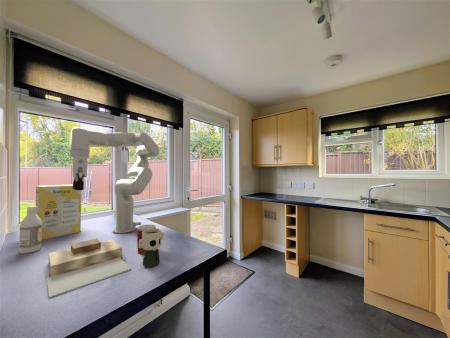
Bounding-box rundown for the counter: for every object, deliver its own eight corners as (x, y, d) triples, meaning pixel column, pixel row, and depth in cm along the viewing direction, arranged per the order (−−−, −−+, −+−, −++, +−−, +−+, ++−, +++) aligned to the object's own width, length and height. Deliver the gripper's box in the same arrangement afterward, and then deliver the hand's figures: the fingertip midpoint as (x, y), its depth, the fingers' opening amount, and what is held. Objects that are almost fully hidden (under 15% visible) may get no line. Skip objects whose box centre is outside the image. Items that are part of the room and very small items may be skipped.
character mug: (144, 273, 66) (145, 236, 66) (132, 268, 70) (133, 233, 70) (168, 261, 75) (169, 229, 76) (156, 256, 79) (157, 226, 79)
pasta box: (75, 228, 118) (76, 184, 118) (80, 231, 111) (81, 185, 112) (34, 236, 103) (36, 185, 104) (37, 240, 97) (39, 186, 98)
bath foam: (37, 252, 83) (38, 207, 83) (15, 255, 80) (16, 208, 80) (44, 246, 89) (45, 204, 89) (24, 249, 86) (25, 205, 86)
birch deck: (112, 247, 88) (112, 239, 88) (121, 257, 79) (122, 247, 79) (48, 263, 72) (48, 253, 73) (50, 277, 63) (51, 266, 63)
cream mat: (119, 258, 78) (119, 257, 78) (131, 269, 68) (131, 268, 68) (46, 279, 62) (46, 278, 62) (49, 298, 53) (49, 296, 53)
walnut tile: (96, 243, 83) (96, 238, 83) (100, 248, 78) (100, 242, 78) (70, 249, 76) (70, 243, 76) (73, 254, 71) (73, 248, 71)
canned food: (137, 255, 80) (138, 230, 80) (136, 249, 87) (137, 225, 87) (156, 252, 83) (156, 227, 84) (154, 246, 90) (154, 223, 91)
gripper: (92, 153, 86) (90, 190, 85) (87, 156, 99) (85, 188, 98) (71, 151, 81) (69, 190, 80) (68, 154, 93) (66, 188, 93)
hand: (77, 189), depth 89 cm, fingers open, 9 cm apart
